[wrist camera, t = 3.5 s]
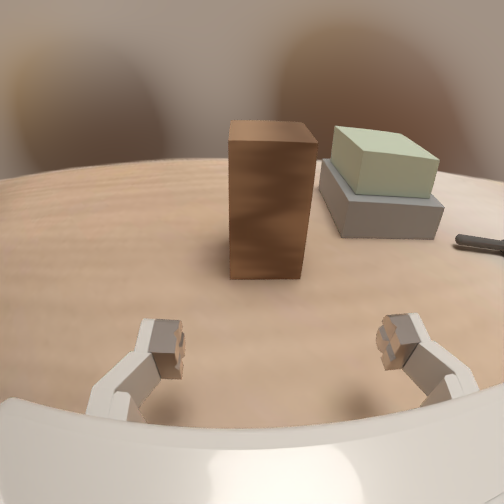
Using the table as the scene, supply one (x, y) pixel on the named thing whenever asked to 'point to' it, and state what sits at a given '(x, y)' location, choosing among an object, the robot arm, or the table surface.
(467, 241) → the walkie-talkie
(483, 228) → the table surface
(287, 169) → the walnut pillar
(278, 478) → the robot arm
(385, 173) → the tower top block
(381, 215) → the tower base block
